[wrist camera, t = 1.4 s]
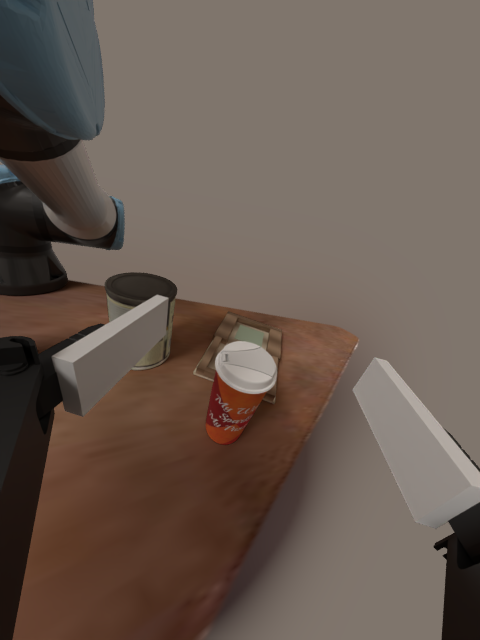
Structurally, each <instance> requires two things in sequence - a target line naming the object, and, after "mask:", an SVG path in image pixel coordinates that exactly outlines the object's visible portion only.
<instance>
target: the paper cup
mask: <svg viewBox="0 0 480 640" xmlns="http://www.w3.org/2000/svg"><path fill="white" fill-rule="evenodd" d="M215 368H216V372H215V377H214V382H213V387H212V391H211V396H210V402H209V408H208V413H207V419H206V431H207V433H208V435H209V437H210V438H211V439H212V440H213V441H214V442H216V443H218V444H222V445H228V444H231V443H233V442H235V441H236V440H237V439H238V438H239V436H240V435H241V433H242V432H243V430H244V429H245V427H246V425H247V424H248V422H249V420H250V419H251V417H252V416H253V414H254V412H255V411H256V409H257V407H258V406H259V404H260V402H261V401H262V399H263V397H264V396H265V394H266V392H267V391H268V390H270V389H271V388H272V387H273V386H274V384H275V382H276V378H277V367H276V364H275V362H274V360H273V358H272V356H271V355H270V354H269V353H268V352H267V351H266V350H264V349H263V348H262V347H260V346H258V345H256V344H253V343H250V342H245V341H236V342H232V343H229V344H228V345H226V346H225V347H224V348H223V349H222V350H221V351H220V352H219V353H218V355H217V357H216V360H215Z"/></svg>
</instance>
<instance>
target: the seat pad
mask: <svg viewBox="0 0 480 640" xmlns="http://www.w3.org/2000/svg"><path fill="white" fill-rule="evenodd" d="M263 337H264V333H263V332H260V331H257V330H254V329H251V328H248V327H246V326H243V325H240V327H239V329H238V331H237V333H236V336H235V338H234V339H237V340H240V341H245V342H250V343H253V344H256V345H258V346H260V347H262V342H263Z"/></svg>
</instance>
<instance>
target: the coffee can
mask: <svg viewBox="0 0 480 640" xmlns="http://www.w3.org/2000/svg"><path fill="white" fill-rule="evenodd" d="M105 290H106V293H107V304H108V315H109V322H111V321H113V320H115V319H116V318H118V317H120V316H121V315H123V314H125V313H127V312H128V311H130V310H132V309H133V308H135V307H137V306H139V305H140V304H142V303H144V302H145V301H147V300H149V299H151V298H152V297H154V296H156V295H160V296H163V297H167V298H169V300H168V313H167V326H166V335H165V336H164V337H163V338H162V339H161V340H160V341H159V342H158V343H157V344H156V345H155V346H154V347H153V348H152V349H151V350H150V351H149V352H148V353H147V354H146V355H145V356H144V357H143V358H142V359H141V360H140V361H139V362H138V363H137V364H136V365H135V366H134V367H133V368H132V369H131V370H146V369H150V368H154V367H156V366H158V365H160V364H162V363H163V362H164V361H165V360H166V359H167V358H168V357H169V354H170V344H171V334H172V324H173V315H174V306H175V296H176V294H177V287H176V285H175V284H174V283H172V282H171V281H170V280H168V279H166V278H163V277H160V276H157V275H153V274H147V273H123V274H118V275H115V276H112V277H110V278H109V279H107V280H106V282H105Z"/></svg>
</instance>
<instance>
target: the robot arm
mask: <svg viewBox="0 0 480 640" xmlns="http://www.w3.org/2000/svg"><path fill="white" fill-rule="evenodd" d="M104 100H105V99H104V84H103V70H102V60H101V52H100V45H99V39H98V34H97V30H96V27H95V22H94V8H93V0H0V161H1V162H2V163H3V164H4V165H0V294H3V295H33V294H41V293H46V292H51V291H54V290H57V289H60V288H62V287H63V286H65V285H66V284H67V282H68V279H67V274H66V271H65V269H64V268H63V266H62V265H61V263H60V261H59V260H58V258H57V256H56V255H55V254H54V252H53V250H52V246H51V242H59V243H66V244H73V245H81V246H88V247H96V248H102V249H106V250H119V249H121V248H122V246H123V242H124V207H123V203H122V201H121V200H119V199H116V198H114V197H112V196H108V194H107V193H106V192H105V191H104V190H103V189H102V188H101V187H100V186H99V185H98V182H97V179H96V177H95V174H94V171H93V168H92V165H91V162H90V160H89V157H88V154H87V151H86V148H85V145H84V143H83V140H92V139H93V138H94V137H95V136H97V135H99V134H100V131H101V129H102V126H103V121H104V107H105V101H104ZM168 300H169V298H167V297H163V296H160V295H156V296H154V297H152V298H151V299H149V300H147V301H145V302H144V303H142V304H140V305H139V306H137V307H135V308H133V309H132V310H130V311H128V312H127V313H125V314H123V315H121V316H120V317H118V318H116V319H115V320H113V321H111V322H109V323H108V324H106V325H104V324H98V325H94V326H91V327H88V328H86V329H84V330H82V331H80V332H78V334H75V335H73V336H71V337H69V339H66V340H64V341H62V342H60V343H58V344H56V345H54V346H53V347H51V348H49V349H47V350H45V351H43V352H42V353H40V354H38V351H37V348H36V344H35V341H34V340H32V339H31V338H28V337H23V336H10V337H3V338H0V640H12V638H13V633H14V628H15V622H16V617H17V612H18V606H19V601H20V596H21V590H22V585H23V580H24V574H25V569H26V564H27V558H28V553H29V548H30V542H31V537H32V532H33V526H34V521H35V516H36V510H37V505H38V500H39V494H40V489H41V484H42V478H43V473H44V468H45V462H46V457H47V452H48V446H49V441H50V436H51V430H52V425H53V420H54V414H55V413H54V407H56V406H57V405H58V404H59V403H60V402H62V401H63V405H64V409H65V411H67V412H70V413H73V414H76V415H79V416H82V417H83V416H84V415H85V414H86V413H87V412H88V411H89V410H90V409H91V408H92V407H93V406H94V405H95V404H96V403H97V402H98V401H99V400H100V399H101V398H102V397H103V396H104V395H105V394H106V393H107V392H108V391H109V390H110V389H111V388H112V387H113V386H114V385H115V384H116V383H117V382H119V381H120V380H121V379H122V378H123V377H124V376H125V375H126V374H127V373H128V372H129V371H130V370H131V369H132V368H133V367H134V366H135V365H136V364H137V363H138V362H139V361H140V360H141V359H142V358H143V357H144V356H145V355H146V354H147V353H148V352H149V351H150V350H151V349H152V348H153V347H154V346H155V345H156V344H157V343H158V342H159V341H160V340H161V339H162V338H163V337H164V336H165V335H166V326H167V313H168ZM353 392H354V394H355V396H356V398H357V400H358V402H359V404H360V406H361V409H362V411H363V413H364V415H365V417H366V419H367V421H368V423H369V426H370V428H371V429H372V432H373V434H374V436H375V438H376V440H377V442H378V445H379V446H380V449H381V451H382V453H383V455H384V457H385V459H386V461H387V464H388V465H389V468H390V470H391V472H392V474H393V476H394V478H395V481H396V482H397V485H398V487H399V489H400V491H401V493H402V495H403V497H404V499H405V501H406V504H407V506H408V508H409V510H410V512H411V514H412V516H413V519H414V520H415V522H416V523H419V524H422V525H426V526H429V527H432V528H435V529H436V528H438V527H440V526H441V525H443V524H445V523H447V522H449V523H450V525H451V527H452V529H453V530H454V532H455V533H453V534H451V535H450V536H448V537H446V538H444V539H442V540H440V541H438V542H436V543H435V545H434V548H435V549H436V550H437V551H438V550H440V549H441V548H443V547H445V548H447V553H446V554H444V555H443V557H444V558H445V559H446V560H447V563H446V579H445V595H444V611H443V627H442V640H480V469H479V467H478V466H477V465H476V464H475V462H474V461H473V460H470V457H469V455H468V454H467V453H466V452H465V451H464V450H463V449H461V446H460V445H459V444H458V442H457V441H456V440H455V439H454V438H453V436H452V435H451V434H450V433H449V432H447V431H446V430H445V429H444V428H443V427H442V426H441V425H440V424H439V423H438V422H437V420H436V419H435V418H434V417H433V415H432V414H431V413H430V412H429V411H428V409H427V408H426V407H425V406H424V405H423V404H422V402H421V401H420V400H419V399H418V398H417V396H416V395H415V394H414V393H413V391H412V390H411V389H410V388H409V387H408V385H407V384H406V383H405V382H404V381H403V379H402V378H401V377H400V376H399V375H398V374H397V372H396V371H395V370H394V369H393V367H392V366H391V365H390V364H389V363H388V361H386V360H382V359H379V358H374V359H373V361H372V362H371V364H370V365H369V366H368V368H367V369H366V371H365V372H364V374H363V375H362V377H361V378H360V380H359V381H358V382H357V384H356V385H355V387H354V388H353Z"/></svg>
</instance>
